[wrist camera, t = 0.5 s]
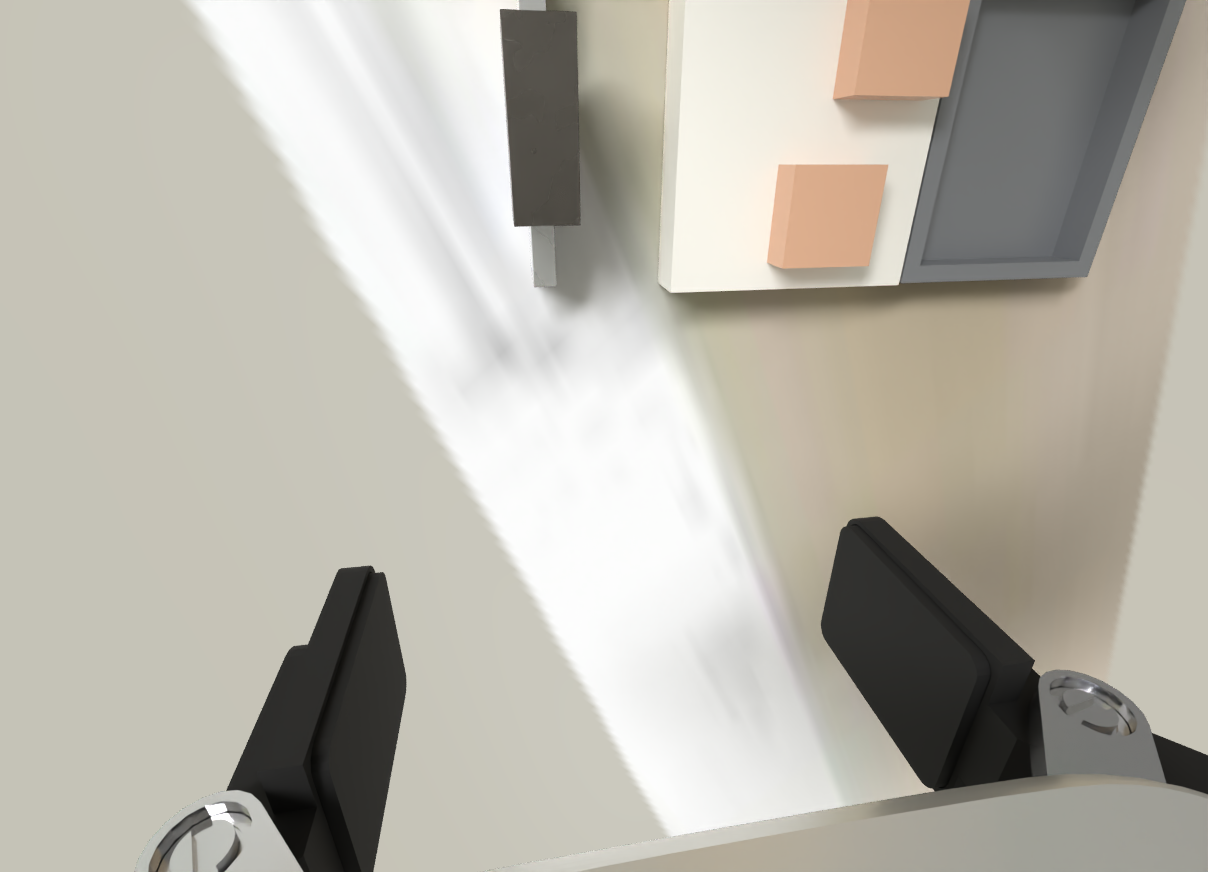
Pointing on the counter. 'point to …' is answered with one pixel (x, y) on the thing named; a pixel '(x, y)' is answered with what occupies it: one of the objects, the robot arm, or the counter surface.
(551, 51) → the dark block with bar
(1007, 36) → the tray
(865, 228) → the tile
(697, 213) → the offwhite board
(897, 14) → the tile
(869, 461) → the counter surface
